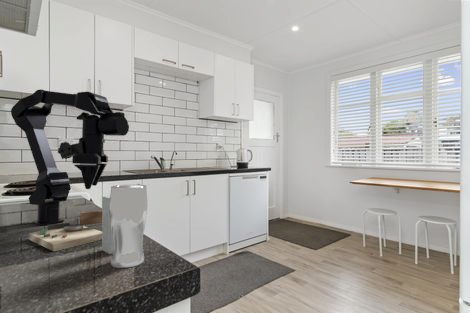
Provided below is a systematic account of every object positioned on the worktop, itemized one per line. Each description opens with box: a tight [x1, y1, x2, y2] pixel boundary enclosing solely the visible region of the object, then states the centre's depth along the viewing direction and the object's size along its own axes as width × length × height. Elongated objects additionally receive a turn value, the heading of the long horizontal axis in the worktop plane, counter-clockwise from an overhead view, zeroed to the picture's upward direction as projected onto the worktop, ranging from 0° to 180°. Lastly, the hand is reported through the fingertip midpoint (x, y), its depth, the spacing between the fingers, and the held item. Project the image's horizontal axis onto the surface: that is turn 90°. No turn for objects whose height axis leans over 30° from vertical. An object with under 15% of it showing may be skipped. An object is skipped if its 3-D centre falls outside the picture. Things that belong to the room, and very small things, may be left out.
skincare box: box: [101, 195, 114, 255], centre depth 58 cm, size 6×4×12 cm
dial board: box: [27, 225, 102, 252], centre depth 65 cm, size 14×12×2 cm
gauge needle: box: [47, 209, 102, 231], centre depth 69 cm, size 13×4×4 cm, turn 125°
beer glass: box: [109, 184, 148, 269], centre depth 51 cm, size 7×7×15 cm
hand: (91, 187), depth 78 cm, fingers open, 9 cm apart
